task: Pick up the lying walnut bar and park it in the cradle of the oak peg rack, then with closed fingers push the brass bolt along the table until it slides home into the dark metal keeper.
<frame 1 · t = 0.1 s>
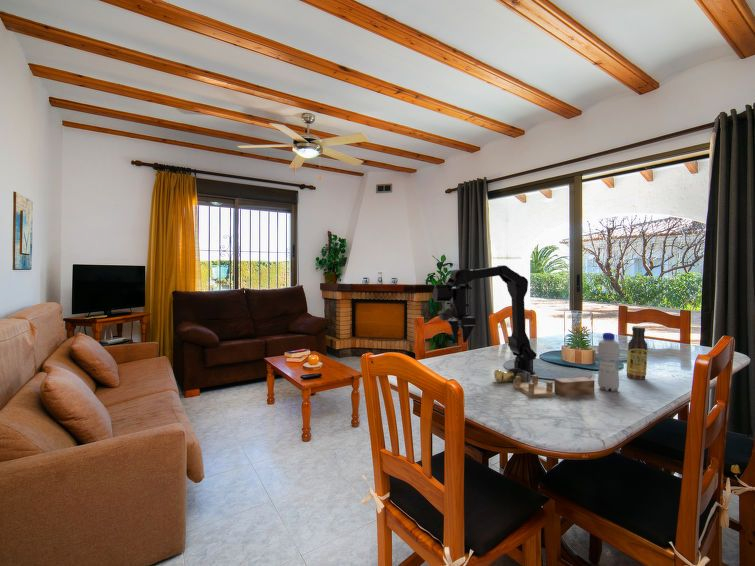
hand: (459, 340, 146), 15 cm above the table, fingers open, 9 cm apart
peg rack: (533, 391, 128), on the table
sauce bottle: (636, 378, 142), on the table
brass bolt: (504, 375, 139), point 2 cm above the table, slide at 0.0 cm
bottle: (608, 389, 129), on the table
keeper: (519, 380, 140), on the table
walnut bar: (574, 394, 125), on the table
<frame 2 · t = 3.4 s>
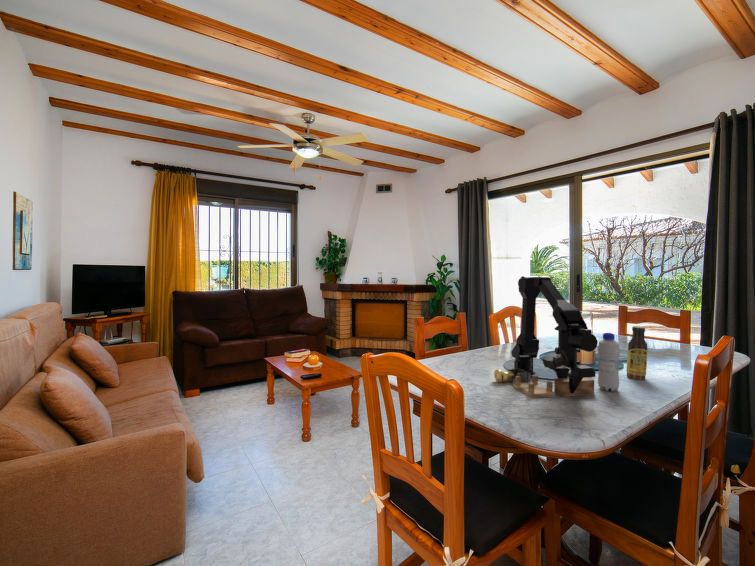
hand: (567, 390, 125), 1 cm above the table, fingers closed on walnut bar, 4 cm apart
walnut bar: (574, 393, 125), on the table, touching gripper
everything else where it was.
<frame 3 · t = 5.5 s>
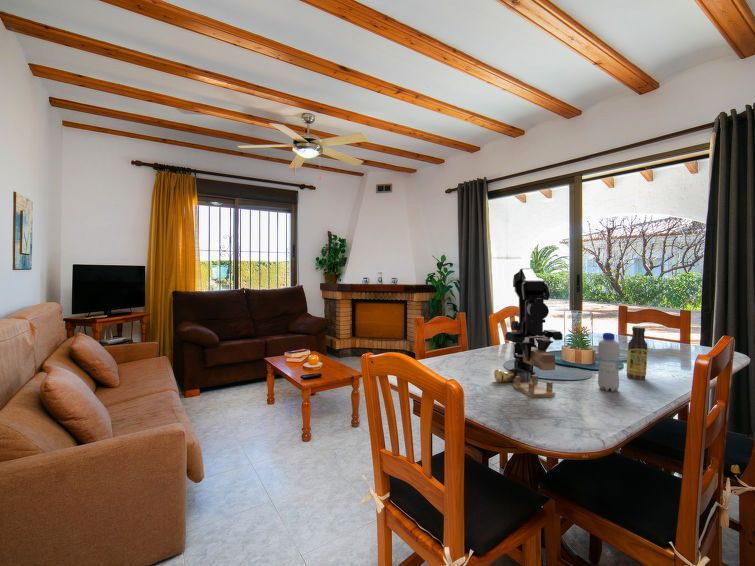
hand: (533, 360, 128), 11 cm above the table, fingers closed on walnut bar, 4 cm apart
walnut bar: (538, 365, 125), point 10 cm above the table, touching gripper
everything else where it was.
when the fingers open (4 cm above the table, at t = 7.0 s): walnut bar drops 1 cm, resting on peg rack.
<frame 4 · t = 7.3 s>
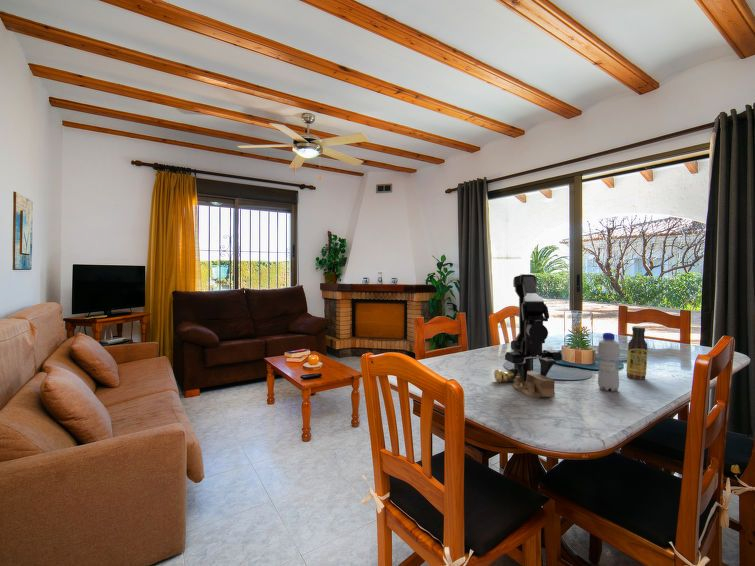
hand: (533, 380, 128), 4 cm above the table, fingers open, 7 cm apart
walnut bar: (537, 390, 125), point 1 cm above the table, touching peg rack
everything else where it was.
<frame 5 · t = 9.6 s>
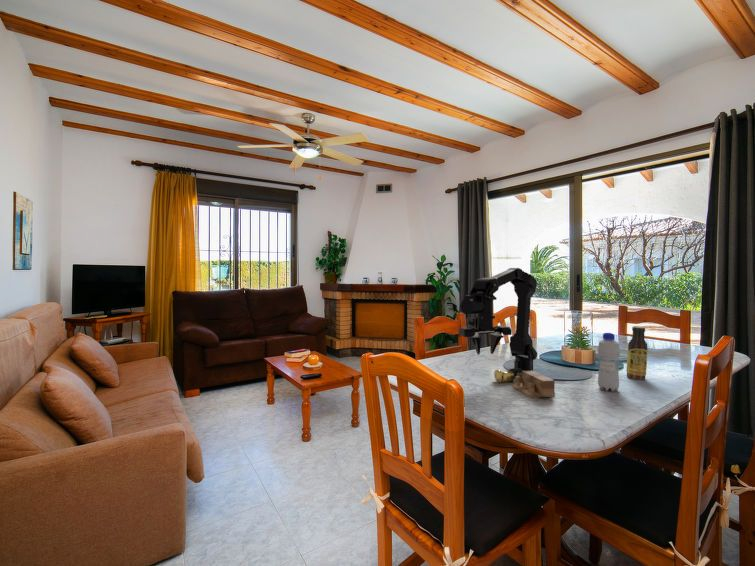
hand: (485, 354, 137), 11 cm above the table, fingers open, 5 cm apart
nothing on the table moved.
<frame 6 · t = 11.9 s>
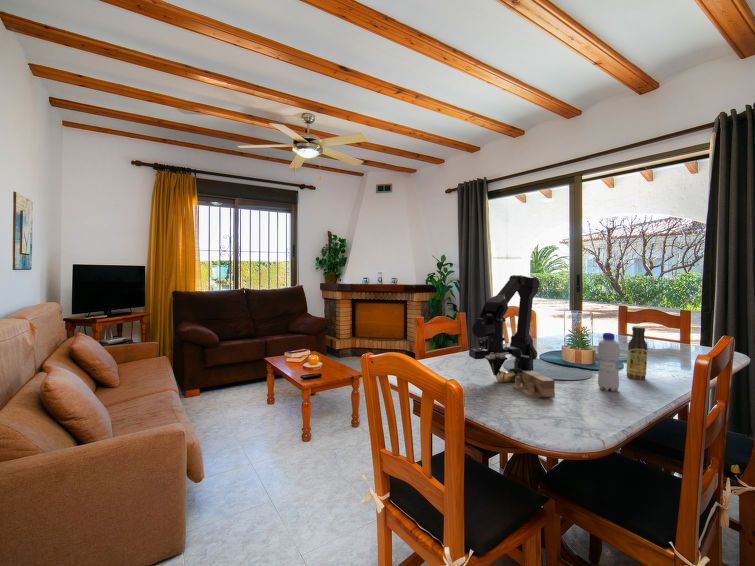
hand: (495, 375, 138), 3 cm above the table, fingers closed
brass bolt: (505, 375, 139), point 2 cm above the table, slide at 0.5 cm, touching gripper
everything else where it was.
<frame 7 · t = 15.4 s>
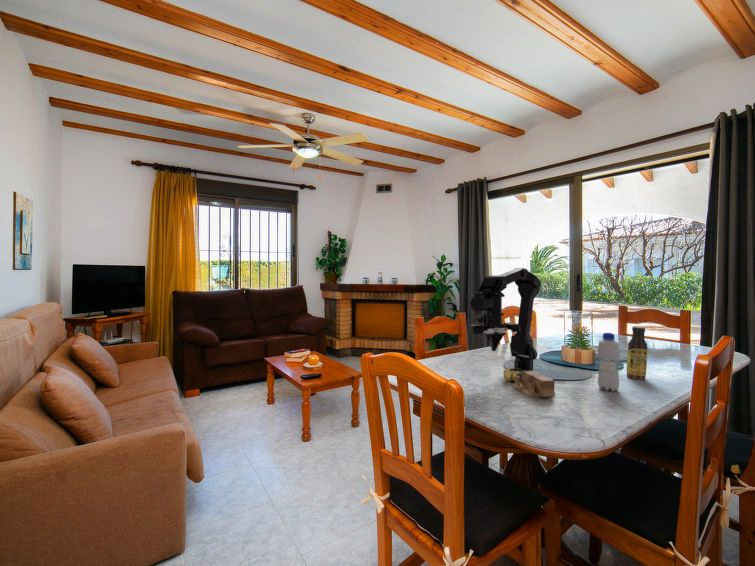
hand: (493, 350, 138), 12 cm above the table, fingers closed
brass bolt: (513, 374, 140), point 2 cm above the table, slide at 3.8 cm
everything else where it was.
at the end: walnut bar 2.5 cm off-centre on the peg rack, point 1.2 cm above the peg rack's base; brass bolt slide at 3.8 cm; the gripper is holding nothing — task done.
